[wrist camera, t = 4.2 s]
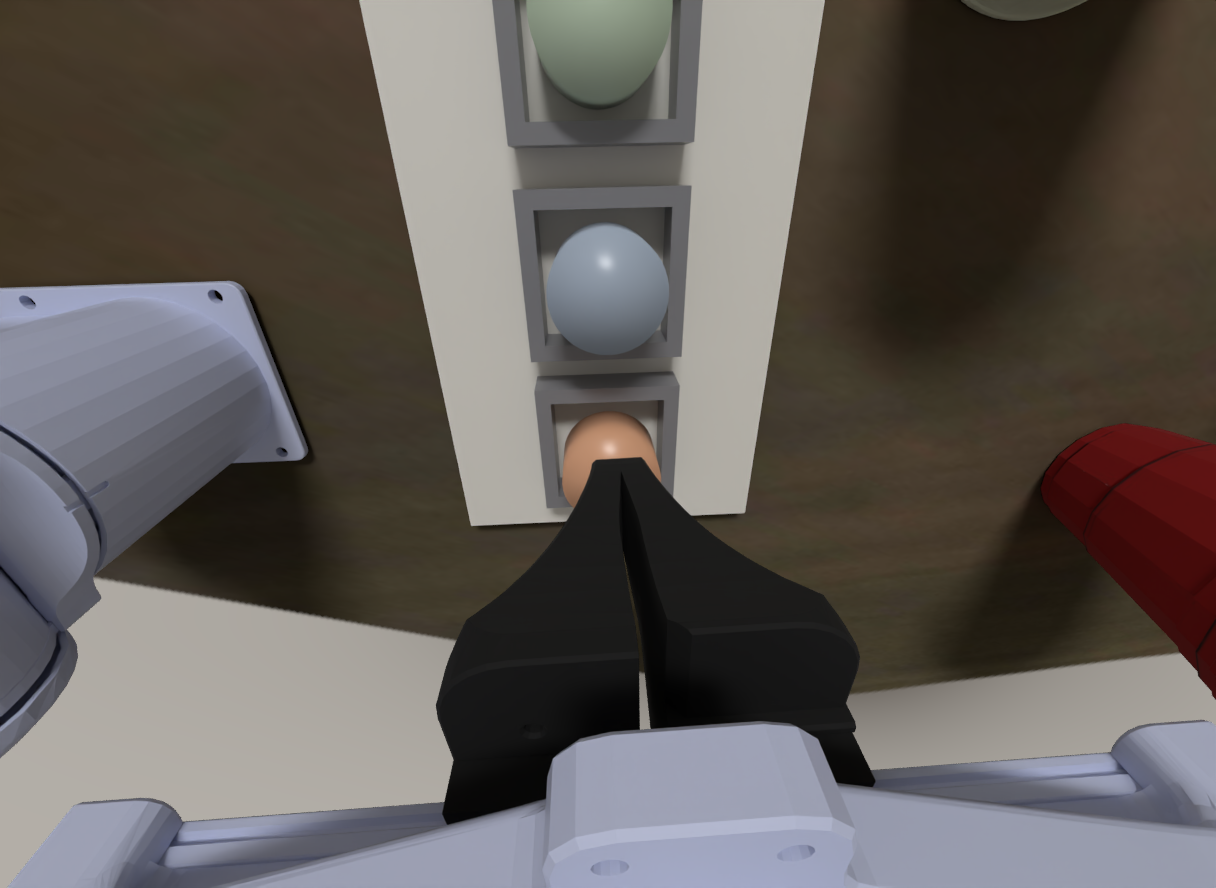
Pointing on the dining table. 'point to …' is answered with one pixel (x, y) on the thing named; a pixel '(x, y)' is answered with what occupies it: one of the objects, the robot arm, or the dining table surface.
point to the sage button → (599, 46)
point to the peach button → (603, 448)
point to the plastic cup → (1148, 525)
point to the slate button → (607, 289)
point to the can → (1021, 8)
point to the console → (585, 194)
